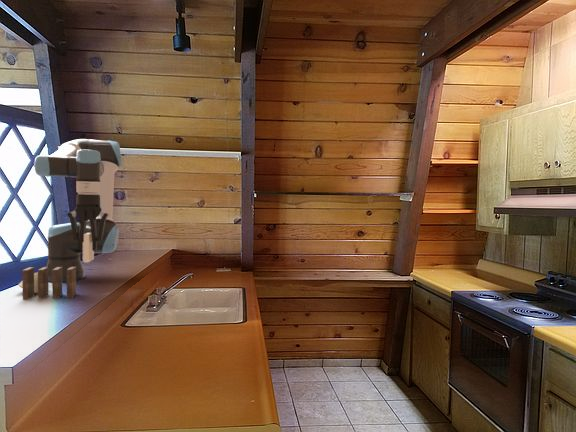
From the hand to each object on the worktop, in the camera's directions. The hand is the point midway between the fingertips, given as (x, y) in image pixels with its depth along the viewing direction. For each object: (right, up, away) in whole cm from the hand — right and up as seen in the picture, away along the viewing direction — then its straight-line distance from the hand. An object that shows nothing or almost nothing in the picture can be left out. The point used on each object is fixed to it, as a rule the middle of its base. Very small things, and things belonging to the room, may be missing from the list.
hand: (88, 259), depth 138 cm
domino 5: (0, -1, 0) cm, 1 cm away
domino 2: (-15, -13, -3) cm, 20 cm away
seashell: (-22, -12, +3) cm, 26 cm away
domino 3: (-10, -13, -1) cm, 16 cm away
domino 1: (-19, -13, -4) cm, 23 cm away
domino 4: (-6, -13, 0) cm, 14 cm away
